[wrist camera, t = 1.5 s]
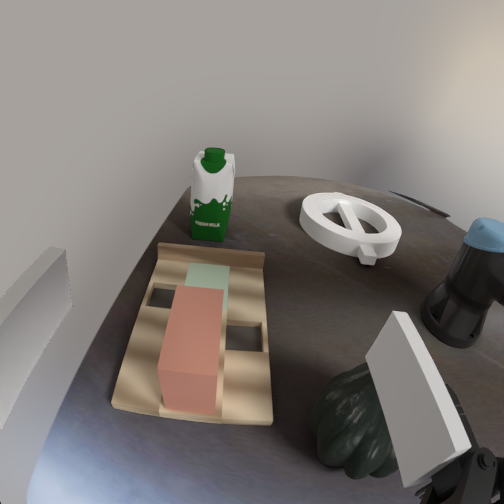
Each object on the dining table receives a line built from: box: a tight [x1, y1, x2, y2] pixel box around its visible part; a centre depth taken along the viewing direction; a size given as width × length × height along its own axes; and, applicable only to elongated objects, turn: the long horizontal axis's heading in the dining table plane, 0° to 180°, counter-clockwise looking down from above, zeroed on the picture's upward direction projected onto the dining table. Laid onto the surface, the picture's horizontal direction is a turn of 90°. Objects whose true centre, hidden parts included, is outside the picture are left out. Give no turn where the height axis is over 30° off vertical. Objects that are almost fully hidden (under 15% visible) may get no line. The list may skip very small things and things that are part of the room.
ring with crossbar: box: [299, 192, 401, 265], centre depth 80 cm, size 28×28×5 cm
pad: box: [184, 262, 230, 310], centre depth 54 cm, size 12×8×2 cm, turn 1°
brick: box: [157, 285, 224, 414], centre depth 36 cm, size 13×6×9 cm, turn 1°
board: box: [111, 243, 273, 425], centre depth 45 cm, size 32×20×4 cm, turn 1°
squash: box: [310, 363, 399, 479], centre depth 30 cm, size 14×15×15 cm
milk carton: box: [190, 148, 235, 242], centre depth 65 cm, size 9×9×20 cm
